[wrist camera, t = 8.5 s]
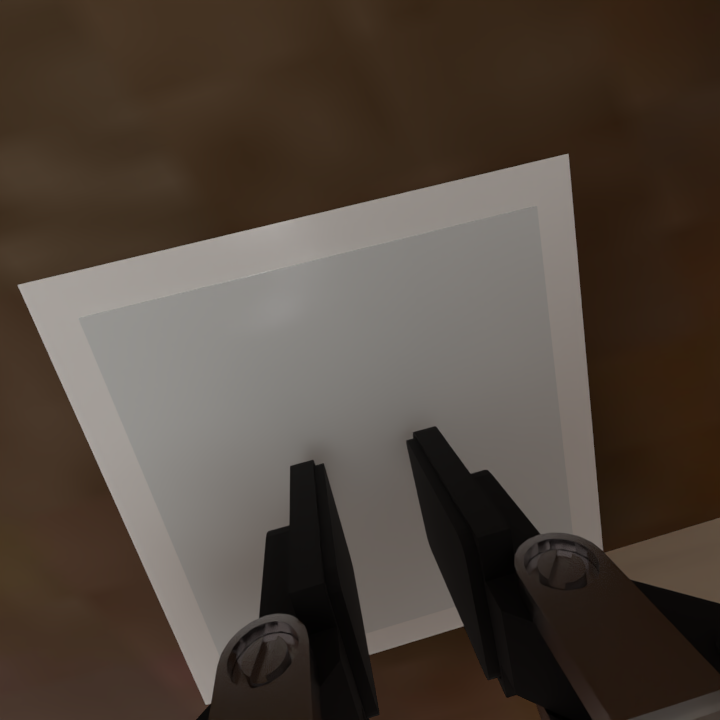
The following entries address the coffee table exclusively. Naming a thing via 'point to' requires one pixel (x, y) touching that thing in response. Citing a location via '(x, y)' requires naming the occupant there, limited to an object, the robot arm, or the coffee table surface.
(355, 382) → the plate
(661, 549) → the maple cube
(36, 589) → the coffee table surface
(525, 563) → the robot arm
